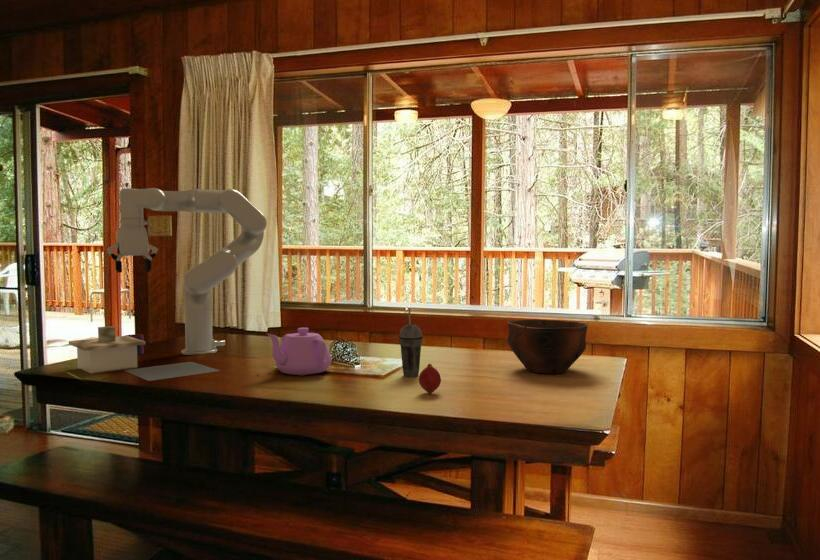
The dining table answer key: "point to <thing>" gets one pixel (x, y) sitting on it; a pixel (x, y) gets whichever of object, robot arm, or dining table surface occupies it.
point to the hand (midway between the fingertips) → (133, 272)
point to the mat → (170, 371)
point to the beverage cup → (410, 348)
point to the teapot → (301, 353)
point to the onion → (429, 379)
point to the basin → (107, 359)
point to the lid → (106, 340)
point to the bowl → (547, 343)
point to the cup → (139, 347)
